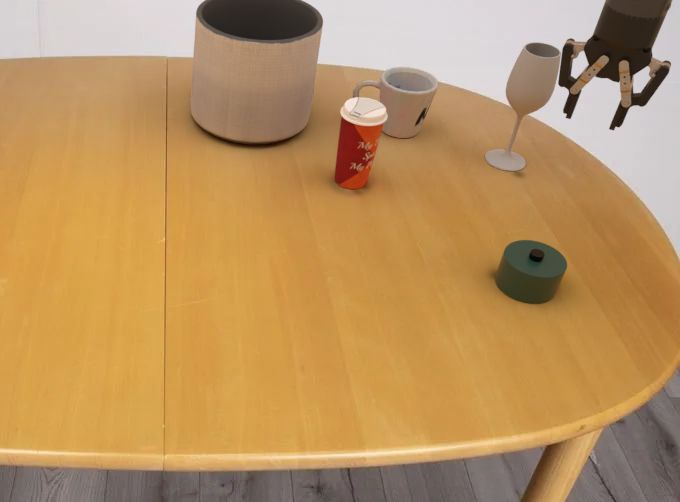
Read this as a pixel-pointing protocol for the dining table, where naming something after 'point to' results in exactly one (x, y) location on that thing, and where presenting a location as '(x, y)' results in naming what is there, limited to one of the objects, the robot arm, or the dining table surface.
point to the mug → (403, 99)
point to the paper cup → (358, 140)
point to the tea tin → (530, 271)
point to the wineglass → (527, 95)
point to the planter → (254, 68)
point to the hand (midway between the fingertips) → (590, 121)
